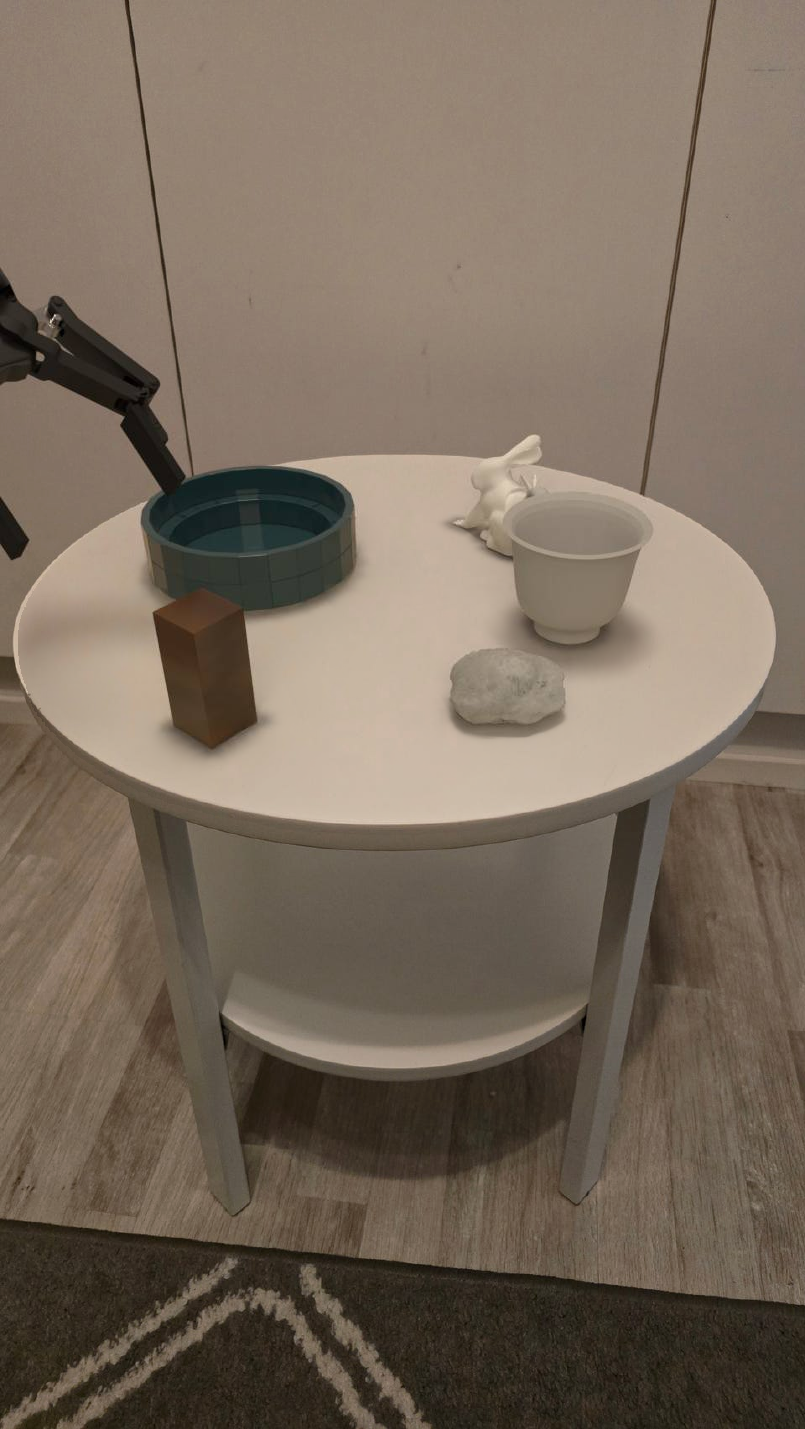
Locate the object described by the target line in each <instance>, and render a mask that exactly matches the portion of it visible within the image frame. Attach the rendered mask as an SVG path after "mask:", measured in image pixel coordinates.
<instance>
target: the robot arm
mask: <svg viewBox="0 0 805 1429" xmlns="http://www.w3.org/2000/svg"><path fill="white" fill-rule="evenodd" d="M39 331H42V332H44V333H46V334H45V335H44V334H42V333H40V332H39ZM54 339H55V340H54ZM63 348H64V349H65V350H64V349H63ZM37 353H39V354H41V355H42V356H43V357H44V358H43V360H38V359H37ZM28 376H31V377H33V378H35V379H36V380H37V379H38V381H42V382H47V381H51V383H52V382H53V383H54V384H56V385H58V386H61V387H62V388H64V389H66V390H69V391H71V392H73V393H74V394H77V395H79V396H81V397H82V398H85V399H87V400H89V401H91V402H93V403H95V404H98V405H99V406H101V407H103V408H105V409H107V410H109V411H112V412H113V413H116V414H117V415H120V416H122V417H123V419H122V420H121V422H120V424H119V427H120V428H121V430H122V432H123V433H124V434H125V436H126V437H127V439H128V440H129V442H130V444H132V447H133V448H134V450H135V451H136V453H137V454H138V456H139V457H140V458H141V460H142V462H143V463H144V465H145V466H146V468H147V470H148V471H149V473H150V474H151V475H152V477H153V478H154V480H155V481H156V483H157V484H158V486H159V488H160V490H163V492H164V493H165V495H166V496H169V495H171V494H174V493H175V491H176V490H177V489H178V487H179V486H180V485H181V483H182V482H183V480H184V479H185V478H187V475H186V474H185V472H184V470H183V469H182V467H181V466H180V465H179V463H178V461H177V460H176V458H175V457H174V455H173V454H172V452H171V451H170V449H169V448H168V446H167V443H168V442H169V436H168V432H167V431H166V429H165V427H163V424H162V423H160V421H159V418H158V417H157V415H155V413H154V411H153V410H152V408H151V407H150V404H151V403H152V401H153V399H154V397H155V396H156V394H157V392H158V391H159V389H160V387H161V381H160V380H159V378H158V377H157V376H155V375H154V374H152V372H150V371H148V369H146V368H145V367H144V366H142V365H141V364H140V363H139V362H137V361H136V360H134V359H133V358H131V357H130V356H129V355H128V354H126V353H125V352H124V351H123V350H121V349H120V348H118V346H116V345H114V344H113V343H112V342H110V341H109V340H108V339H107V338H106V337H104V336H103V335H102V334H100V333H99V332H98V331H96V330H95V329H94V328H92V327H91V326H90V325H88V324H87V323H85V322H84V321H83V320H82V319H81V318H79V316H78V315H76V313H75V311H74V310H72V308H71V307H70V305H68V303H67V302H66V301H65V299H64V298H63V297H61V296H60V295H52V296H50V297H49V300H48V303H47V304H46V305H45V306H42V307H39V308H37V309H34V310H30V309H29V308H27V307H26V306H24V305H23V304H22V303H21V302H20V300H19V299H18V298H17V295H16V293H15V290H14V289H13V286H12V284H11V282H10V280H9V279H8V277H7V276H6V274H5V273H4V270H3V269H2V268H1V267H0V386H2V385H3V384H5V383H17V382H21V381H24V380H26V379H27V378H28ZM29 542H30V538H29V537H28V535H27V534H26V532H25V531H24V530H23V528H22V526H21V525H20V523H19V522H18V521H17V519H16V517H15V516H14V514H13V513H12V511H11V510H10V509H9V506H8V505H7V504H6V503H5V501H4V499H3V498H2V496H0V546H1V549H2V550H3V551H4V552H5V554H6V555H7V557H8V558H9V559H10V561H14V560H16V559H19V558H21V557H22V556H23V553H24V552H25V550H26V548H27V546H28V544H29Z"/></svg>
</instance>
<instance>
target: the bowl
mask: <svg viewBox="0 0 805 1429" xmlns="http://www.w3.org/2000/svg"><path fill="white" fill-rule="evenodd" d="M354 502H355V501H354V499H353V494H352V493H351V492H350V491H349V490H348V489H347V487H346V486H344V485H343V484H342V483H341V482H339V481H337V480H335V479H334V478H331V477H329V476H328V475H326V474H322V473H319V472H315V471H312V470H308V469H304V468H298V467H297V468H296V467H290V466H282V465H260V464H259V465H246V466H232V467H227V468H220V469H215V470H210V471H207V472H206V471H205V472H202V473H199V474H195V475H192V476H189V477H186V478H185V479H184V480H183V482H182V483H181V485H180V486H179V487H178V489H177V490H176V491H175V493H174V494H171V495H169V496H166V495H165V493H164V492H163V490H162V489H160V490H159V491H158V492H156V493H155V494H154V495H153V496H151V497H150V498H149V499H148V500H147V502H146V503H145V504H144V506H143V507H142V508H141V512H140V522H139V523H140V529H141V533H142V539H143V544H144V550H145V555H146V560H147V561H146V562H147V566H148V572H149V575H150V577H151V579H152V581H153V583H154V585H155V587H156V588H158V589H159V590H160V591H161V592H163V593H164V594H165V595H166V596H168V597H169V598H171V599H174V600H175V601H176V600H178V599H180V598H182V597H184V596H186V595H188V594H190V593H192V592H194V591H196V590H198V589H200V588H204V589H206V590H208V591H210V592H212V593H214V594H216V595H218V596H220V597H222V598H224V599H226V600H228V601H230V602H232V603H234V604H237V605H239V606H241V607H243V610H244V613H245V612H255V611H266V610H273V609H275V610H276V609H278V608H284V607H287V606H292V605H295V604H296V605H297V604H300V603H303V602H305V601H308V600H312V599H314V598H315V597H319V596H322V595H323V594H325V593H327V592H328V591H330V590H332V589H333V588H335V587H336V586H338V585H340V584H341V583H343V581H344V580H345V579H346V578H347V577H348V575H350V573H351V572H352V571H353V569H354V567H355V563H356V560H357V557H358V555H357V534H356V531H357V530H356V509H355V503H354Z"/></svg>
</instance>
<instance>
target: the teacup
mask: <svg viewBox="0 0 805 1429" xmlns="http://www.w3.org/2000/svg"><path fill="white" fill-rule="evenodd" d="M503 528H504V530H505V532H506V533H507V534H508V536H509V537H510V538H511V542H512V550H513V556H512V563H513V577H514V578H513V579H514V586H515V594H516V598H517V601H518V604H519V606H520V608H521V610H522V611H523V613H524V614H525V615H526V616H527V618H529V619H531V620H532V621H533V629H534V631H535V633H536V634H537V635H539V636H540V637H541V638H543V639H545V640H547V641H549V642H552V643H555V644H560V645H579V644H585V643H587V642H590V641H592V640H594V639H595V638H597V637H598V635H599V634H600V632H601V627H603V626H605V625H606V624H608V623H609V622H611V621H612V620H613V619H615V618H616V617H617V615H618V614H619V612H620V611H621V609H622V607H623V606H624V603H625V601H626V598H627V596H628V592H629V589H630V586H631V582H632V579H633V575H634V572H635V569H636V568H635V567H636V564H637V561H638V558H639V555H640V553H641V550H642V548H643V547H644V546H646V545H647V544H648V543H649V542H650V541H651V539H652V537H653V535H654V526H653V523H652V521H651V520H650V519H649V517H648V516H647V515H646V514H645V512H644V511H642V510H641V509H639V508H638V507H637V506H634V505H633V504H631V503H629V502H626V501H624V500H621V499H618V498H616V497H612V496H608V495H604V494H600V493H594V492H586V491H555V492H549V491H548V490H547V488H545V487H544V486H539V485H538V486H536V487H533V488H531V489H530V490H529V491H528V492H527V494H526V497H525V499H524V500H522V501H520V502H518V503H517V504H515V505H514V506H513V507H511V508H510V509H509V510H508V511H507V513H506V514H505V516H504V518H503Z"/></svg>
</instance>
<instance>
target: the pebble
mask: <svg viewBox="0 0 805 1429" xmlns="http://www.w3.org/2000/svg"><path fill="white" fill-rule="evenodd" d="M449 679H450V680H451V687H450V691H449V695H450V700H451V702H452V705H453V706H454V710H455V711H456V713H457V714H458V715H460V717H462V718H463V719H464V720H466V721H467V722H470V723H472V724H475V725H477V724H493V725H497V724H498V725H499V724H505V723H510V724H518V725H533V724H536V723H538V722H539V721H540V720H542V719H544V718H545V717H548V716H551V715H553V714H555V713H557V712H559V711H560V710H562V709H563V708H564V707H565V705H566V703H567V702H566V688H565V687H564V679H565V674H564V672H563V671H562V669H561V668H560V666H558V664H557V663H556V662H554V661H552V660H551V659H549V658H547V657H545V656H541V655H537V654H535V653H530V652H525V651H522V650H521V649H511V648H508V647H496V648H495V647H494V648H482V649H479V650H474V651H471V652H469V653H468V654H465V655H464V656H462V657H461V658H459V659H458V660H457V661H456V662H455V663H454V664H453V666H452V668H451V670H450V673H449Z"/></svg>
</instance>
